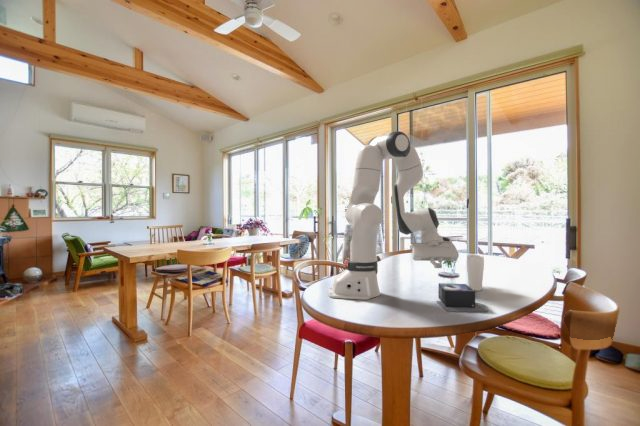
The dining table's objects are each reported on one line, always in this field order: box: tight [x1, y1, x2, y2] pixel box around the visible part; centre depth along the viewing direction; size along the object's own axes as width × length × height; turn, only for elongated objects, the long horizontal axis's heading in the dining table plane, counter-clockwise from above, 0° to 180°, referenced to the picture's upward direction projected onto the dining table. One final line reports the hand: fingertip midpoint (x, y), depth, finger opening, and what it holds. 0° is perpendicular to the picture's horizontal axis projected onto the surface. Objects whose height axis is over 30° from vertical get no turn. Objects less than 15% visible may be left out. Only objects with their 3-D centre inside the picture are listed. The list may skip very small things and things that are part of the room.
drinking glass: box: [466, 254, 485, 292], centre depth 135 cm, size 7×7×15 cm
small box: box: [438, 282, 476, 308], centre depth 115 cm, size 11×6×10 cm
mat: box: [436, 300, 489, 313], centre depth 112 cm, size 14×11×1 cm
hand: (438, 267), depth 135 cm, fingers closed
